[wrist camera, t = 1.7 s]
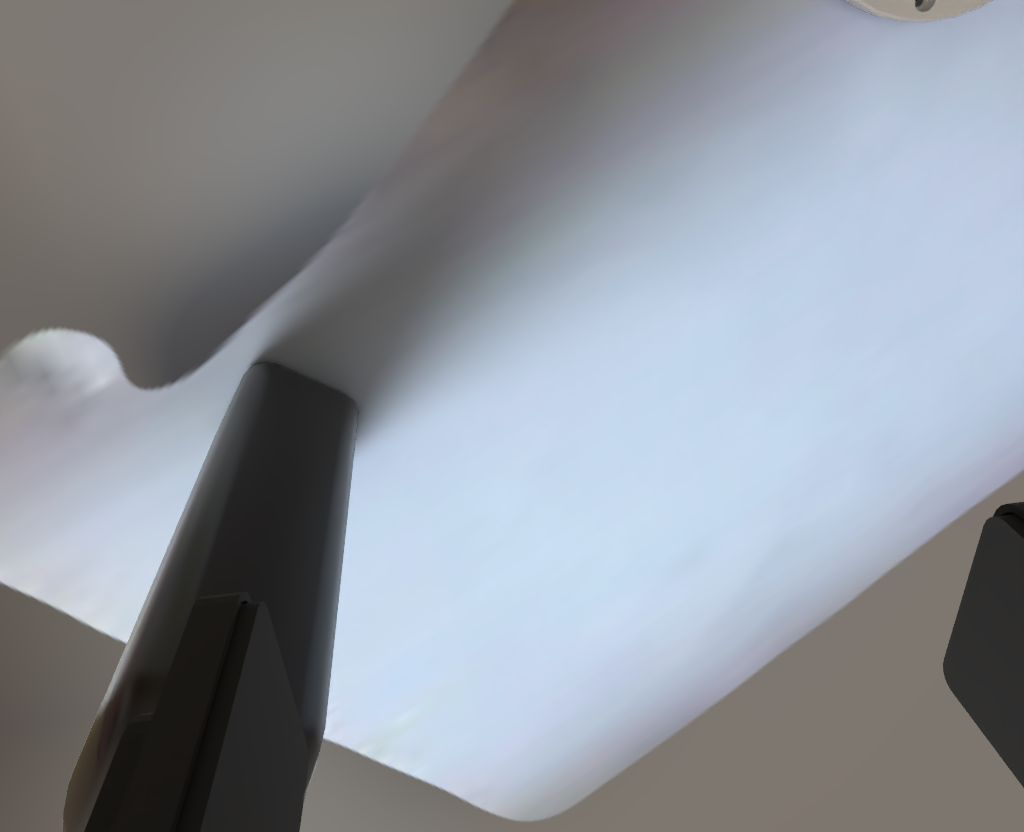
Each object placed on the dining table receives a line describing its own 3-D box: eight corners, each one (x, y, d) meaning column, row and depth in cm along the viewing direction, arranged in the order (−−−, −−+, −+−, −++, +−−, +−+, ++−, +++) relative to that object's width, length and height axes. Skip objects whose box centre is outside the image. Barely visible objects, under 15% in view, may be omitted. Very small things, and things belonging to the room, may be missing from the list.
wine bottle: (366, 400, 38) (289, 1277, 12) (318, 487, 40) (163, 1401, 14) (254, 351, 36) (-124, 1264, 10) (210, 445, 38) (-202, 1411, 12)
